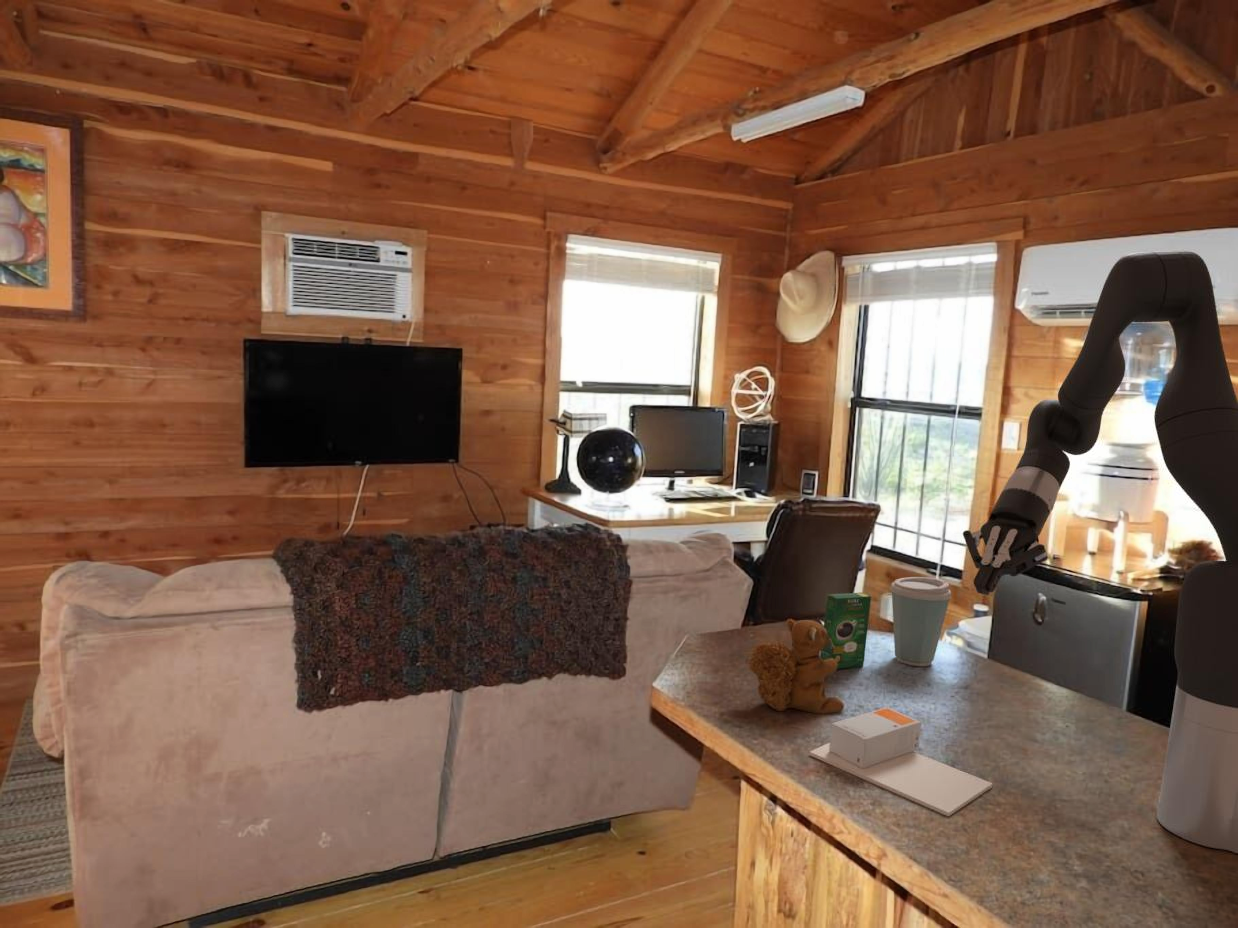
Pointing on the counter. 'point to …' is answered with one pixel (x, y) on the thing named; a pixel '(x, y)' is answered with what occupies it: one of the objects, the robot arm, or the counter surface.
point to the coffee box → (846, 628)
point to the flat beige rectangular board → (915, 779)
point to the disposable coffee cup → (918, 618)
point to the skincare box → (874, 737)
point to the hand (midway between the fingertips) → (981, 590)
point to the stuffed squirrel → (796, 670)
